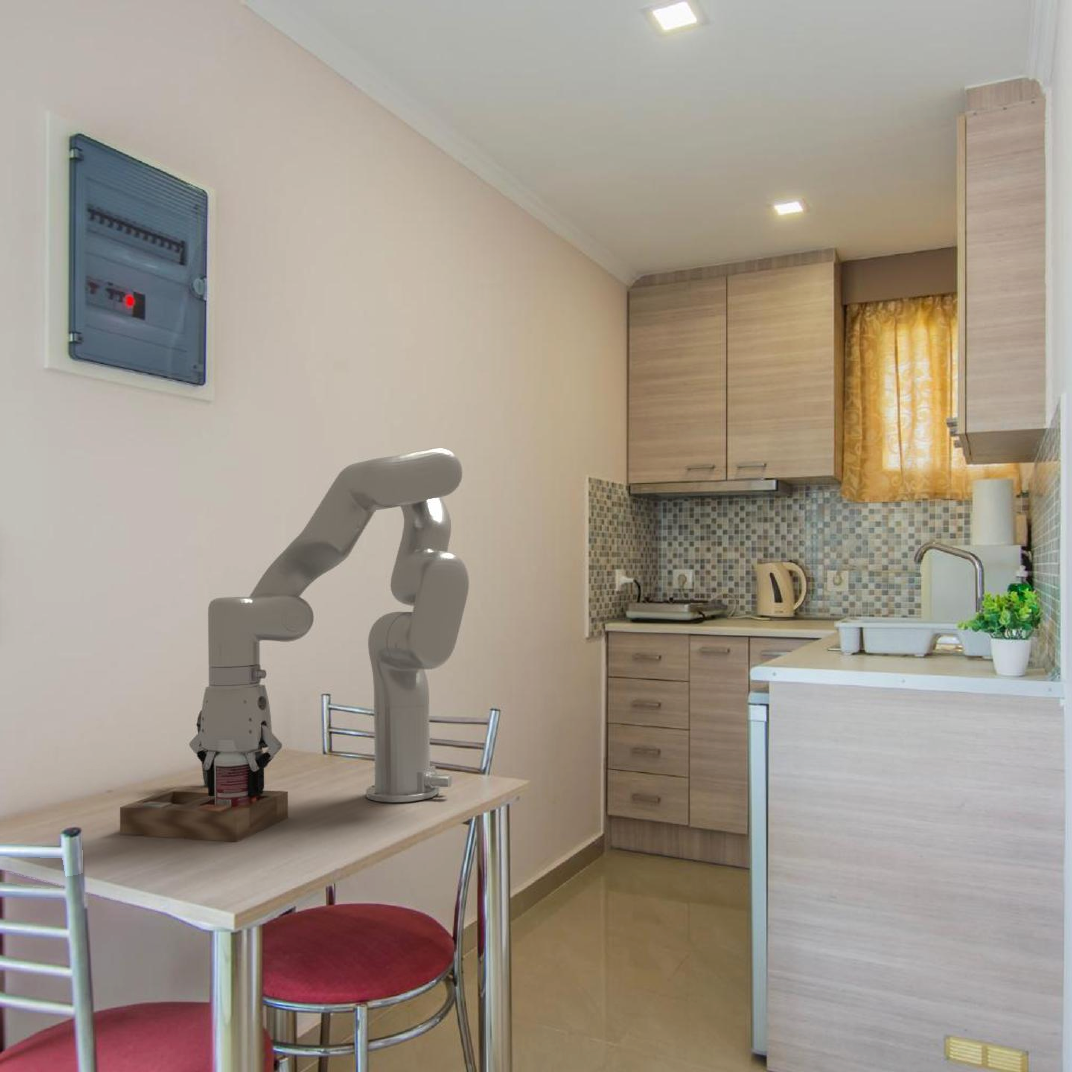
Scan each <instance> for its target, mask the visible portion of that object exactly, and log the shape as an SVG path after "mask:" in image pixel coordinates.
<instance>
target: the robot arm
mask: <svg viewBox="0 0 1072 1072" xmlns="http://www.w3.org/2000/svg"><path fill="white" fill-rule="evenodd" d="M462 478H463V468H462V464H461V462H460V459H459V458H458V457H457V456H456V454H454V453H453V452H452V451H450V450H448V449H446V448H443V447H433V448H429V449H424V450H419V451H414V452H409V453H405V454H398V455H393V456H386V457H384V456H383V457H377V458H373V459H369V460H365V461H360V462H356V463H352V464H349V465H348V466H346V467H345V468H343V469H342V470H341V471H340V472H339V473H338V474H337V476H336V478H335V479H334V481H333V482H332V484H331V486H330V488H328V491H327V492H326V493H325V495H324V497H323V498H322V500H321V502H320V503H319V505H318V506H317V508H316V509H315V511H314V513H313V514H312V515H311V518H309V521H308V522H307V524H306V525H305V527H304V528H303V530H301V533H299V534H298V536H296V537H295V539H293V540H292V541H291V542H290V543H289V545H288V546H287V547H286V548H285V549H284V550H283V551H282V552H281V553H280V554H279V555H278V556H277V557H276V558H275V560H274V561H272V563H271V564H270V566H268V567H267V569H266V570H265V572H264V573H263V575H262V576H261V577H260V579H259V581H258V582H257V583H256V586H255V587H254V588H253V590H252V592H251V593H250V595H249V596H229V597H228V596H227V597H224V596H223V597H217V598H214V599H212V600H211V601H210V603H209V604H208V608H207V610H208V611H207V623H208V624H207V628H208V629H207V631H208V633H207V634H208V635H207V636H208V641H207V642H208V645H207V646H208V652H207V653H208V686H207V687H205V690H204V693H203V694H204V695H203V700H202V705H201V706H202V707H201V710H202V714H201V730H200V732H199V733H198V732H197V734H196V735H195V736H194V737H193V738H192V739H191V741H190V742H189V744H188V746H189V748H191V750H192V751H193V752H194V753H195V755H196V756H197V758H198V759H199V761H200V762H201V764H202V763H203V767H204V769H206V770H207V787H208V795H209V796H214V759H215V757H216V756H217V755H218V754H220V753H221V752H222V751H218V742H219V740H233V741H234V744H235V747H236V750H237V751H234V752H237V753H245V754H246V757H247V759H248V762H249V765H250V767H251V771H249V772H248V797H249V798H254V797H256V796H259V795H261V794H262V793H263V790H264V789H265V768H267V767H268V764H269V763H270V762H271V761H272V760H273V759H274V757H275V755H277V753H279V752H280V750H281V749H282V747H283V743H282V742H281V741H280V740H279V739H278V738H277V736H276V735H275V734H274V733H273V730H272V728H273V726H272V716H271V707H270V701H269V697H268V692H267V688H266V684H261V681H262V680H261V679H266V677H267V671H266V669H261V657H260V654H261V653H260V652H261V651H260V645H261V644H260V643H261V641H272V642H281V643H282V642H283V643H284V642H285V643H288V642H294V641H297V640H299V639H301V638H303V637H304V636H305V635H307V634H308V633H309V632H310V630H311V629H312V626H313V623H314V618H315V617H314V611H313V609H312V607H311V605H310V603H309V602H308V601H307V600H305V599H304V598H302V597H301V596H302V594H304V592H305V591H306V589H307V588H308V587H309V586H311V584H312V583H314V582H315V581H316V580H317V579H318V578H320V576H323V575H324V574H326V573H327V572H329V571H331V570H333V569H334V568H336V567H337V566H339V565H341V564H342V562H345V560H346V559H347V558H348V557H349V555H351V552H352V551H353V549H354V547H355V546H356V544H357V543H358V540H359V539H360V537H361V535H362V534H363V532H364V531H365V529H366V527H367V526H368V524H369V522H370V521H371V519H372V517H373V516H374V514H375V512H376V511H378V510H379V511H380V510H386V509H392V508H397V507H398V508H399V507H400V508H401V512H402V515H403V530H402V535H401V539H400V543H399V547H398V551H397V555H396V558H395V561H394V565H393V570H392V573H391V577H390V591H391V594H392V595H393V597H394V599H396V601H397V602H400V603H401V604H402V605H405V606H406V605H407V606H412V607H413V608H412V611H393V612H389V613H386V614H383V615H382V616H380V617H379V618H378V619H376V620H375V622H374V623H373V624H372V626H371V628H370V630H369V634H368V639H367V646H368V647H367V648H368V655H369V660H370V666H371V670H372V679H373V681H372V683H373V724H374V725H373V726H374V727H373V733H374V734H373V737H374V740H373V742H374V743H373V744H374V747H373V749H374V784H373V785H370V786H368V787H367V788H366V790H365V796H366V798H367V799H369V800H371V801H375V802H381V803H408V802H418V801H423V800H427V799H431V798H433V797H435V796H437V795H438V794H439V793H440V788H451V787H452V785H453V783H452V782H453V779H452V778H453V777H452V776H451V775H450V774H449V773H442V774H441V773H438V772H436V765H431V757H430V756H431V752H430V749H431V748H430V738H431V737H430V689H429V688H430V687H429V682H428V678H427V673H426V672H425V670H434V669H437V668H440V667H441V666H443V665H444V664H445V663H447V661H448V660H449V659H450V657H451V655H452V653H453V651H454V650H455V647H456V644H457V639H458V636H459V632H460V628H461V625H462V624H461V623H462V620H463V615H464V611H465V608H466V607H465V606H466V604H467V600H468V599H467V598H468V595H469V586H470V582H469V581H470V580H469V574H468V573H469V572H468V569H467V567H466V565H465V563H464V562H463V560H462V559H461V558H460V557H459V556H458V555H455V554H454V553H452V552H449V551H448V549H449V545H450V544H449V543H450V541H451V540H450V539H451V533H452V522H451V516H450V513H449V509H448V507H447V505H446V504H445V502H444V500H443V497H446V496H449V495H450V494H452V493H453V492H455V491H456V490H457V488H458V487H460V484H461V481H462ZM263 749H266V751H264V750H263Z"/></svg>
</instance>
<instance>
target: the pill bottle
mask: <svg viewBox="0 0 1072 1072" xmlns="http://www.w3.org/2000/svg"><path fill="white" fill-rule="evenodd" d="M218 751H222V752H221V753H220V754H218V755H217V756H216V757H215V759H214V800H215V801H214V803H215V805H225V806H230V807H238V808H243V807H245V806H247V805H250V804H252V803H254V802H257V796H256V797H254V798H249V797H248V772H249V771H251V767H250V765H249V762H248V759H247V757H246V754H245V753H237V752H234V751H237V750H236V747H235V744H234V741H233V740H219V742H218Z"/></svg>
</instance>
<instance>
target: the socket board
mask: <svg viewBox="0 0 1072 1072" xmlns="http://www.w3.org/2000/svg"><path fill="white" fill-rule="evenodd" d="M214 801H215V800H214V796H209V795H208V788H205V787H201V786H200V787H199V786H198V787H195V786H178V787H175V788H172V789H169V790H166V791H163V792H160V793H157V794H154V795H151V796H148V797H145V798H142V799H139V800H137V801H134V802H131V803H128V804H126V805H122V806H120V807H119V834H120V835H127V836H129V835H130V836H145V837H156V838H157V837H159V838H163V837H164V838H171V839H172V838H176V839H189V840H191V839H192V840H209V841H222V842H234V843H235V842H236V843H237V842H239V841H241V840H243V839H246V838H247V837H249V836H251V835H254V834H255V833H257V832H259V831H262V830H264V829H266V828H268V827H270V826H272V825H275V824H276V823H278V822H280V821H283V820H285V819H287V818H289V792H288V791H283V790H280V791H279V790H264V789H263V793H262V794H261V795H259V796H257V802H254V803H252V804H250V805H247V806H245V807H243V808H238V807H230V806H225V805H215V803H214Z"/></svg>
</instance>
